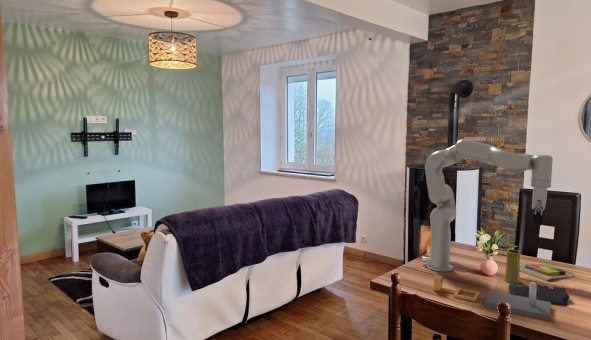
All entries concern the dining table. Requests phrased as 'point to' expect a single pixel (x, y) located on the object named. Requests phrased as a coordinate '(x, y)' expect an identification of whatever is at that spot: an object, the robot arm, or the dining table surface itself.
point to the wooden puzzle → (545, 271)
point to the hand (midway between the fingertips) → (538, 221)
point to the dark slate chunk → (542, 293)
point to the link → (438, 287)
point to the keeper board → (521, 303)
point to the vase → (513, 266)
